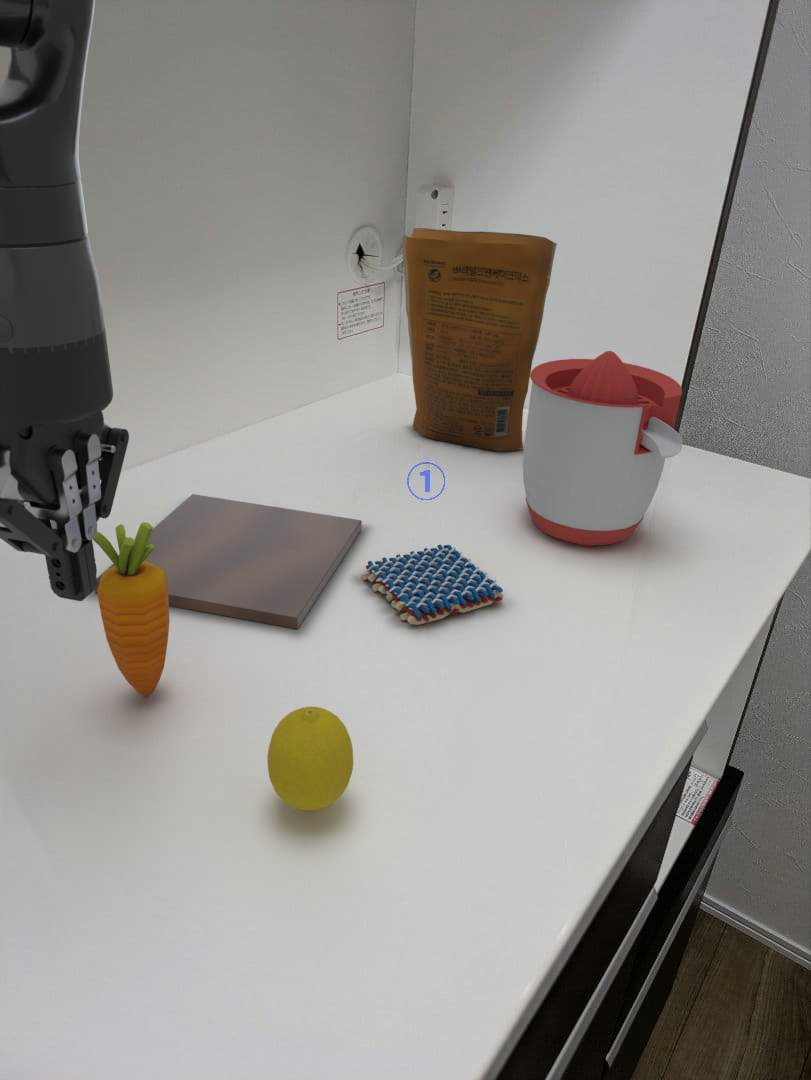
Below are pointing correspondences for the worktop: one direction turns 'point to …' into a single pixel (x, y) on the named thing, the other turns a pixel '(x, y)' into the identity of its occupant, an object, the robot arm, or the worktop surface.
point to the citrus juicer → (596, 446)
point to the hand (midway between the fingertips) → (76, 593)
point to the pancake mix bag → (474, 331)
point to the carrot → (135, 608)
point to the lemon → (310, 758)
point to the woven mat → (432, 584)
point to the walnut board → (248, 558)
